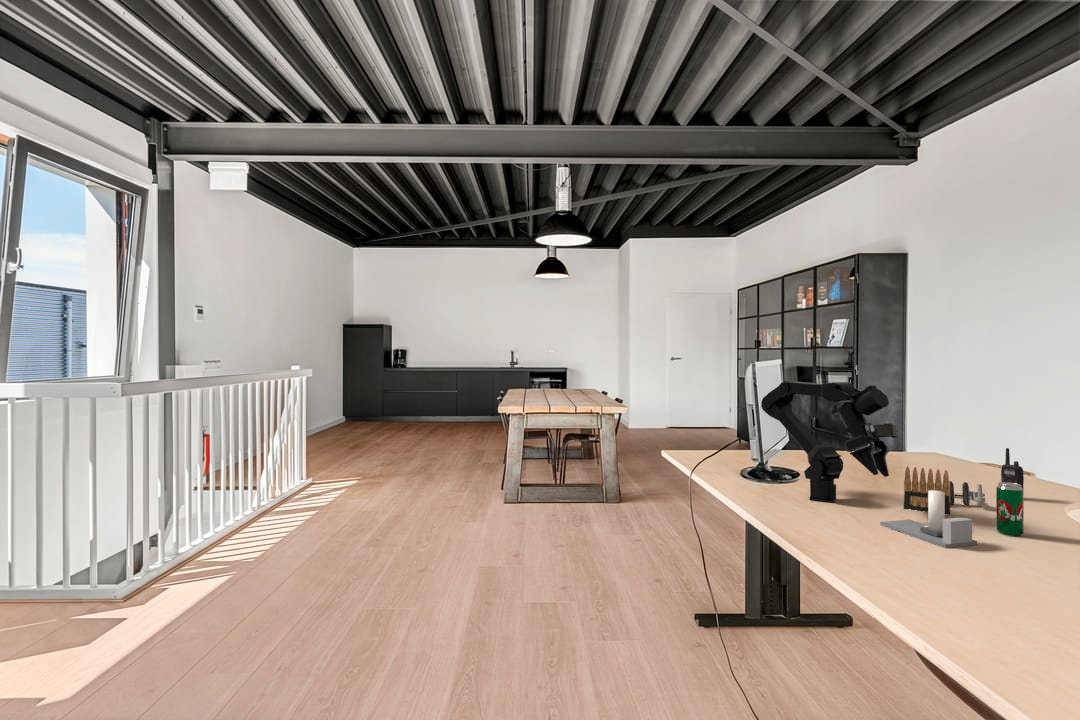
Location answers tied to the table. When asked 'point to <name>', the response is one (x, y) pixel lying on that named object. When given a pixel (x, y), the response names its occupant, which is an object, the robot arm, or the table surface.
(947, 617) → the table surface
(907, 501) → the ammunition clip
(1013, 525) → the soda can
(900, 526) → the gauge board
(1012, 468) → the two-way radio
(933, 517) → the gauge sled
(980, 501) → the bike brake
